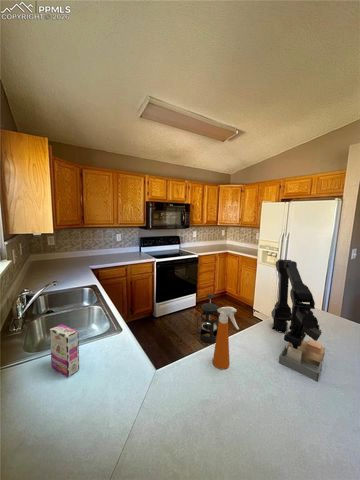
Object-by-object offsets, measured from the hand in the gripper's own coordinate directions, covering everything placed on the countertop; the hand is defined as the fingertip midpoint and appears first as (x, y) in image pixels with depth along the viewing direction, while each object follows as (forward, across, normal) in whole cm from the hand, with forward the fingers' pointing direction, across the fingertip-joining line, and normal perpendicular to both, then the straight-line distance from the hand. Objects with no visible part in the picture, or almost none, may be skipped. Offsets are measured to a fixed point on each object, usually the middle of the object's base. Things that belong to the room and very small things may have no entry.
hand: (295, 349), depth 90 cm
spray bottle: (+4, -28, +20) cm, 34 cm away
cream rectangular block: (+1, -3, 0) cm, 3 cm away
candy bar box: (+4, -74, +65) cm, 98 cm away
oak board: (+4, +6, -3) cm, 8 cm away
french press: (+4, -17, +36) cm, 40 cm away
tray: (+4, -5, -3) cm, 7 cm away
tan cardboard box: (+1, +8, -6) cm, 10 cm away
